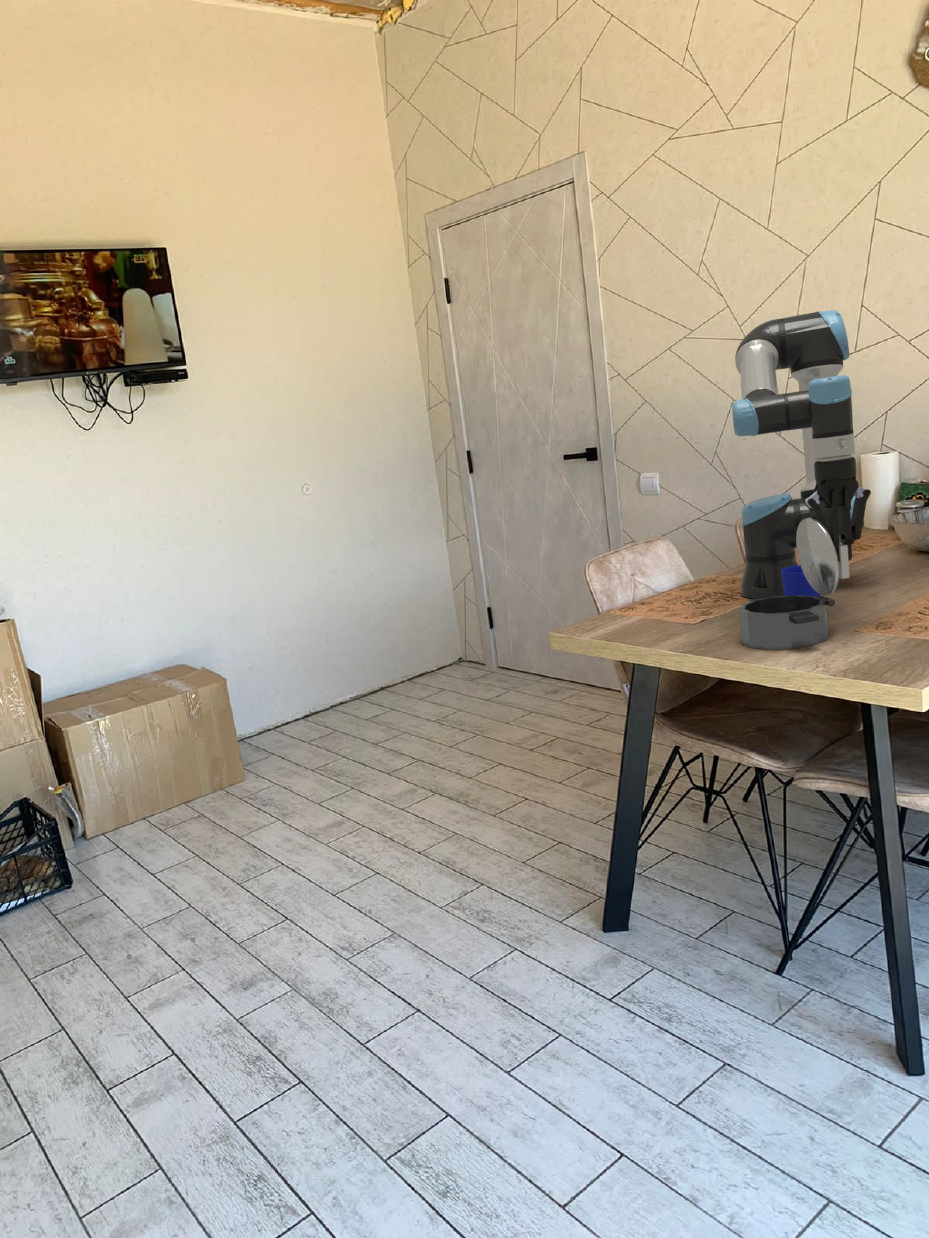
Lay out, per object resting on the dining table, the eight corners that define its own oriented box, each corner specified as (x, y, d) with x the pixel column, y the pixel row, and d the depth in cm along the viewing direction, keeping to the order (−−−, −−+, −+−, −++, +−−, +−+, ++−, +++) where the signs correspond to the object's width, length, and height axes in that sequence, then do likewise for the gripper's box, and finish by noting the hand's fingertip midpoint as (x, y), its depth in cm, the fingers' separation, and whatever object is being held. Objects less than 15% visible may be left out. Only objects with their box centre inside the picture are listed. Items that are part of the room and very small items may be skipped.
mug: (823, 603, 210) (820, 560, 208) (824, 616, 199) (821, 570, 197) (784, 606, 213) (781, 563, 211) (784, 619, 202) (780, 573, 200)
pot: (725, 634, 197) (722, 601, 196) (805, 620, 198) (803, 588, 197) (769, 657, 175) (766, 621, 174) (859, 642, 177) (856, 606, 175)
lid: (790, 515, 190) (798, 513, 190) (803, 588, 193) (811, 586, 194) (827, 522, 175) (835, 520, 175) (840, 601, 178) (848, 599, 178)
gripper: (811, 463, 177) (820, 585, 181) (876, 453, 178) (884, 574, 182) (793, 463, 184) (802, 579, 189) (856, 452, 185) (863, 569, 190)
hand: (842, 577), depth 186 cm, fingers closed
